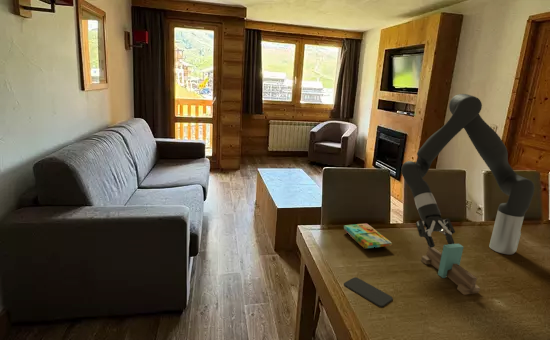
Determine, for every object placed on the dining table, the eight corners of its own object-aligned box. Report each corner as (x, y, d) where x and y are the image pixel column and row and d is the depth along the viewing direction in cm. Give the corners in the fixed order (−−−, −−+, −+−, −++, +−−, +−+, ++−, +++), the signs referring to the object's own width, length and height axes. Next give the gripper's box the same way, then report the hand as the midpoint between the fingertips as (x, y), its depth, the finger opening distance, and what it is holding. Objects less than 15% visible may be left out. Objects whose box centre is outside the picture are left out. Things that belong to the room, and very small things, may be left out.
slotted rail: (433, 259, 131) (436, 245, 129) (478, 292, 110) (482, 277, 109) (420, 260, 130) (423, 246, 128) (463, 294, 109) (467, 278, 107)
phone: (355, 276, 116) (394, 297, 105) (355, 278, 116) (394, 299, 105) (342, 283, 111) (381, 306, 100) (342, 285, 111) (381, 309, 100)
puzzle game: (366, 221, 154) (392, 241, 135) (365, 230, 155) (391, 251, 136) (344, 223, 150) (368, 243, 132) (343, 232, 151) (366, 254, 133)
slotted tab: (452, 272, 122) (458, 243, 119) (457, 276, 120) (463, 246, 117) (437, 274, 120) (443, 244, 117) (442, 278, 118) (448, 248, 115)
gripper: (416, 203, 125) (432, 244, 118) (448, 202, 129) (465, 242, 121) (406, 211, 132) (420, 250, 124) (436, 209, 135) (451, 248, 127)
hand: (442, 246), depth 122 cm, fingers open, 8 cm apart
